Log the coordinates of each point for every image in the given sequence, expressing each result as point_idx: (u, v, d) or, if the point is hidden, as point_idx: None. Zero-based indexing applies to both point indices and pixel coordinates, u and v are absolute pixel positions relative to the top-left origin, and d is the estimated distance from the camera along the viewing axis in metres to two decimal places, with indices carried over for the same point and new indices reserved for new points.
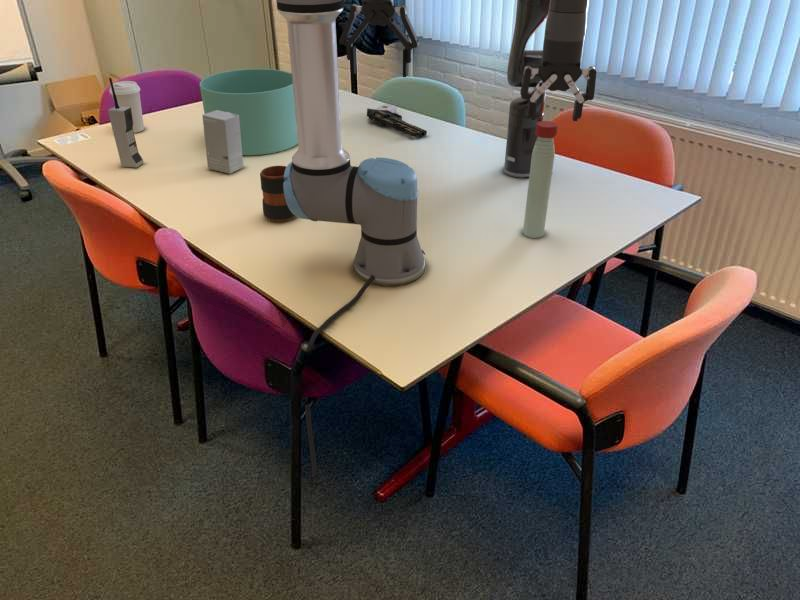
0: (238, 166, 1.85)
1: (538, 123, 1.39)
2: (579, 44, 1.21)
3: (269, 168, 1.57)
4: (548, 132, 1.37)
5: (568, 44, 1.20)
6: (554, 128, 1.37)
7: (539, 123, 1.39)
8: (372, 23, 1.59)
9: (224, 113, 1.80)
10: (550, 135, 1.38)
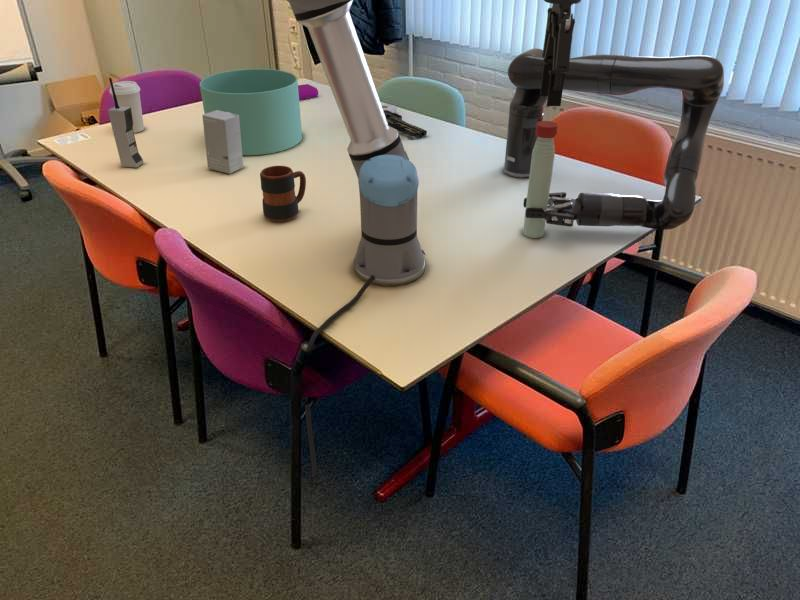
0: (238, 166, 1.85)
1: (538, 123, 1.39)
2: None
3: (269, 168, 1.57)
4: (548, 132, 1.37)
5: None
6: (554, 128, 1.37)
7: (539, 123, 1.39)
8: None
9: (224, 113, 1.80)
10: (550, 135, 1.38)
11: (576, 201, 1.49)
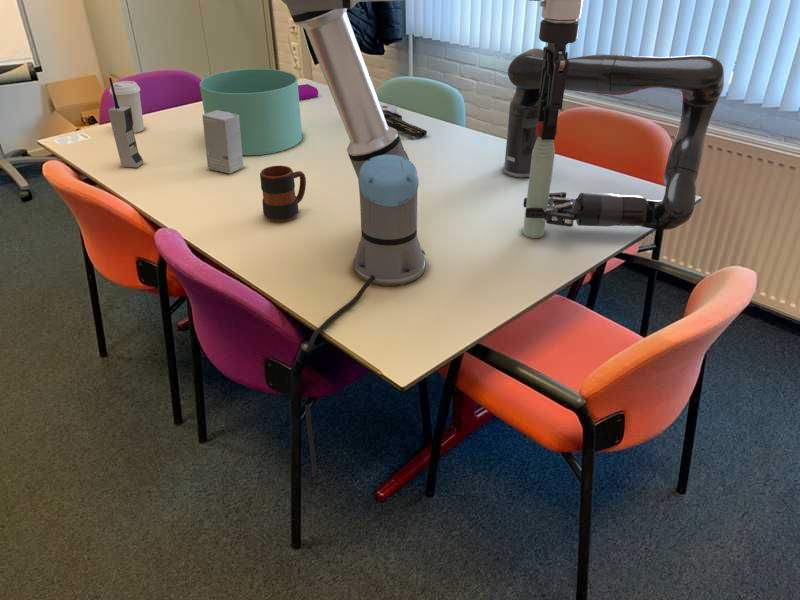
0: (238, 166, 1.85)
1: (538, 123, 1.39)
2: None
3: (269, 168, 1.57)
4: None
5: None
6: None
7: (539, 123, 1.39)
8: None
9: (224, 113, 1.80)
10: None
11: (576, 201, 1.49)
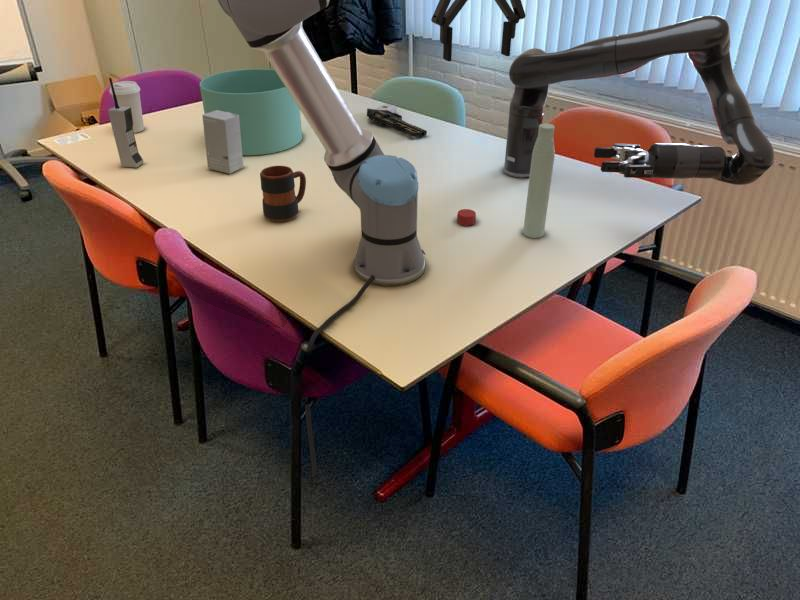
0: (238, 166, 1.85)
1: (474, 212, 1.57)
2: None
3: (269, 168, 1.57)
4: None
5: None
6: None
7: (473, 213, 1.57)
8: None
9: (224, 113, 1.80)
10: None
11: (648, 152, 1.42)
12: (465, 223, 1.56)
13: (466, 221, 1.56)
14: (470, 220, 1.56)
